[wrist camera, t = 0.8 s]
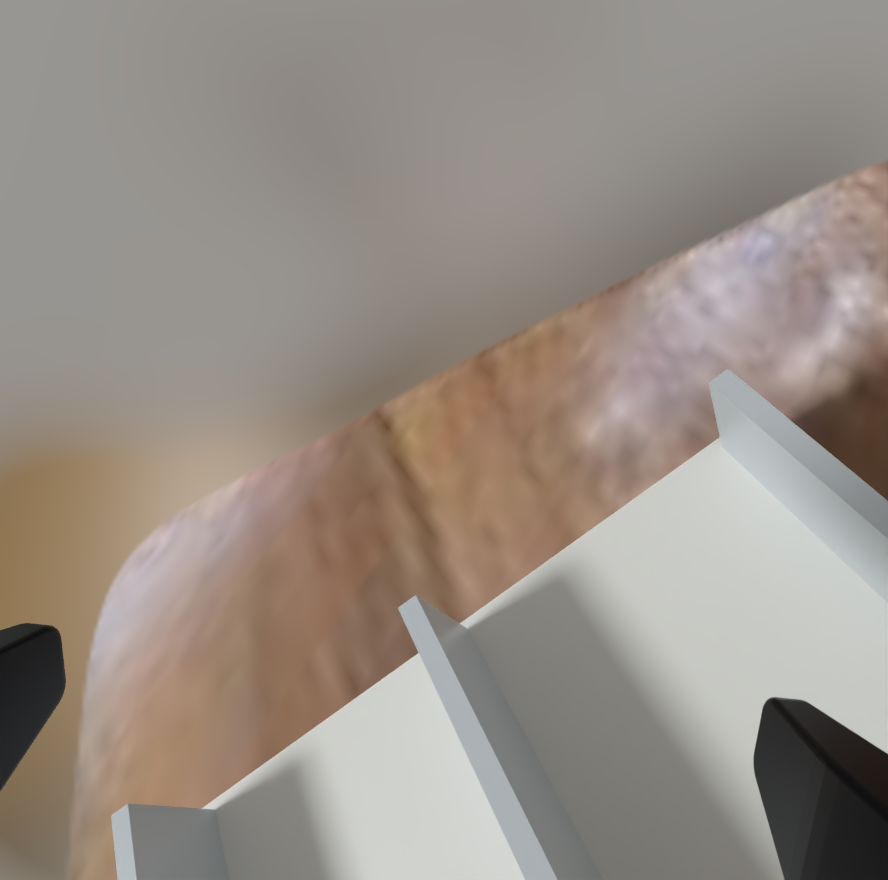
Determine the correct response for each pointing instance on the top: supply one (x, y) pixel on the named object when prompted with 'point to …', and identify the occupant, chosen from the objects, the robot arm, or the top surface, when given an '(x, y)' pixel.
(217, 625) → the top surface
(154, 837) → the white divided tray
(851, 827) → the robot arm
